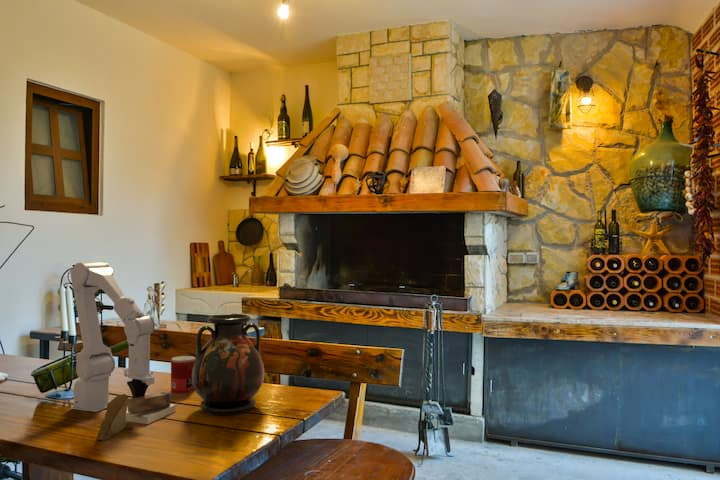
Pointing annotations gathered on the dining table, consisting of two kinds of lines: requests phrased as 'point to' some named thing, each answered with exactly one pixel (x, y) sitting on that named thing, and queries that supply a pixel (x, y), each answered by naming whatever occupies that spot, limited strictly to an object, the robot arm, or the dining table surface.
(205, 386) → the amphora vase
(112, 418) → the rock
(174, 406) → the stool seat
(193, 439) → the dining table surface
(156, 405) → the stool leg
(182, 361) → the canned food
